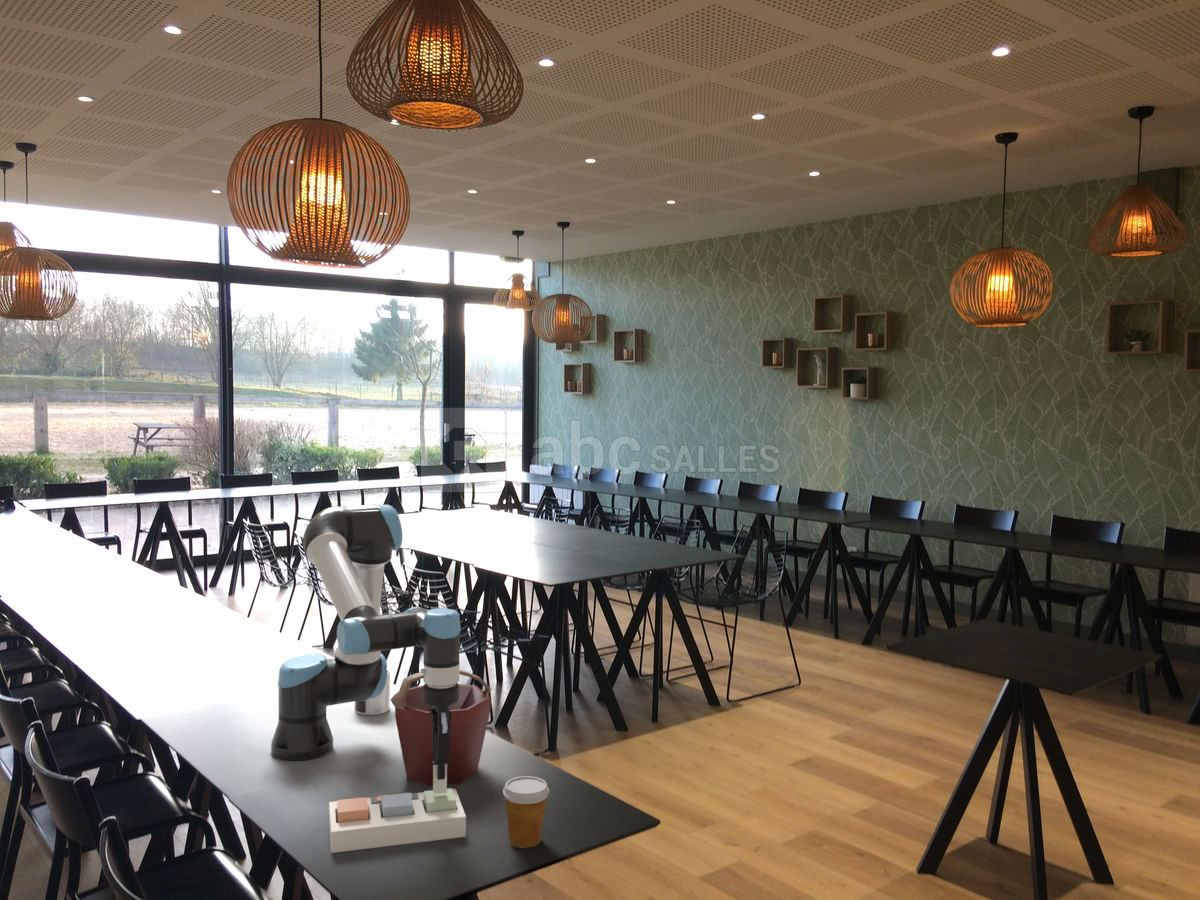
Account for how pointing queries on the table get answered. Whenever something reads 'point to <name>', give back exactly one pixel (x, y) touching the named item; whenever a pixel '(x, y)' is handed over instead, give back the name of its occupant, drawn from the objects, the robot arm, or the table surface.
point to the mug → (375, 702)
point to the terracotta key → (352, 810)
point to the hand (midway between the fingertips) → (439, 791)
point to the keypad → (395, 826)
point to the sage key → (439, 801)
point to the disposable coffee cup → (525, 809)
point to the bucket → (464, 734)
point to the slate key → (396, 805)
